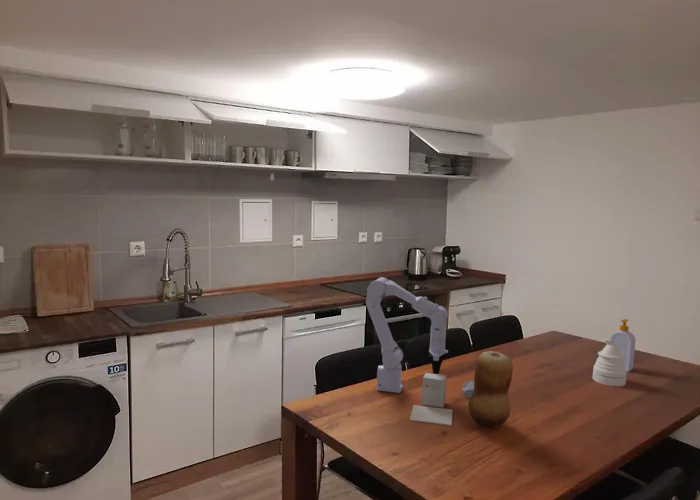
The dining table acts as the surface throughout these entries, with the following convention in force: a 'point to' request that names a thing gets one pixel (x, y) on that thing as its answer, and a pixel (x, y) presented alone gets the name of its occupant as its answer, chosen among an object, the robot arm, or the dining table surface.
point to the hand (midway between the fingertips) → (436, 373)
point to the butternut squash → (491, 389)
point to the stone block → (468, 389)
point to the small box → (434, 390)
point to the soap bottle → (625, 344)
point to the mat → (431, 415)
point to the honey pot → (610, 366)
